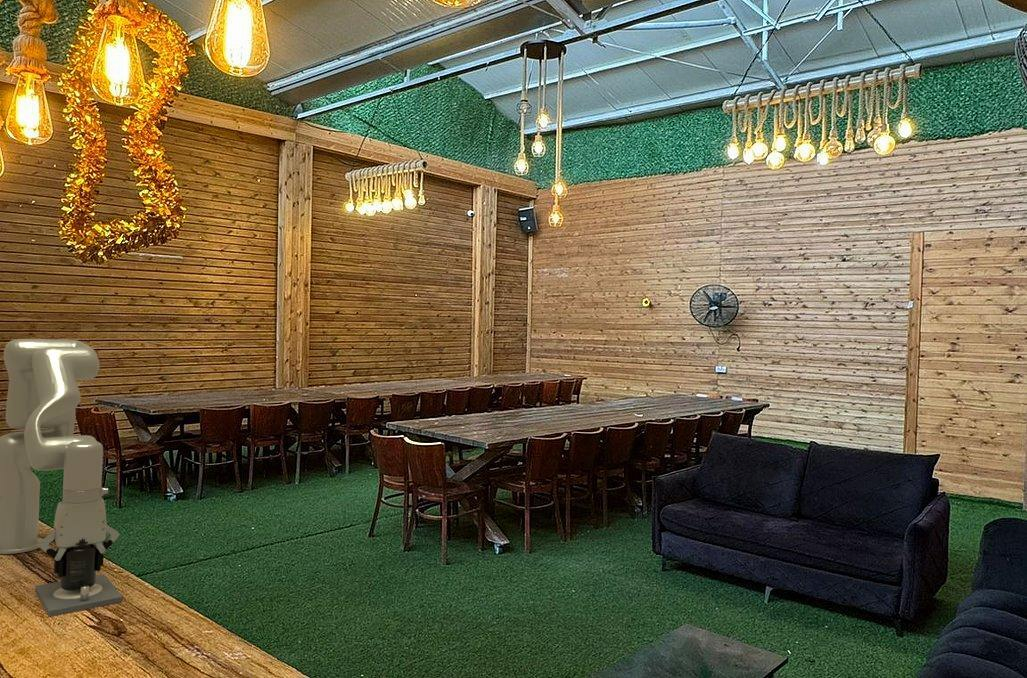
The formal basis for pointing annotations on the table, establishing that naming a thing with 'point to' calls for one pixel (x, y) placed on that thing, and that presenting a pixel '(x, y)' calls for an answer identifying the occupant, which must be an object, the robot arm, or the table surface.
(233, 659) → the table surface
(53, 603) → the board
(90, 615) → the table surface
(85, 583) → the supplement bottle
